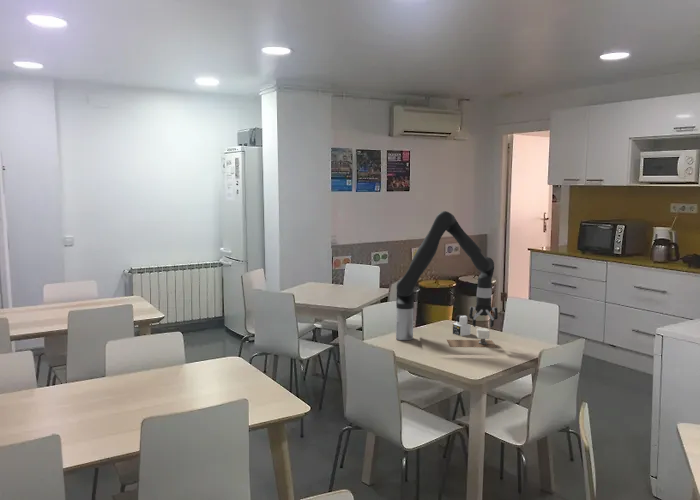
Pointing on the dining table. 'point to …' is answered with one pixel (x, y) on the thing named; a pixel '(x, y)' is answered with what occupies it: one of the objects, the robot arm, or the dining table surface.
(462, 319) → the medicine bottle
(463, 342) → the post board
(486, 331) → the cap
